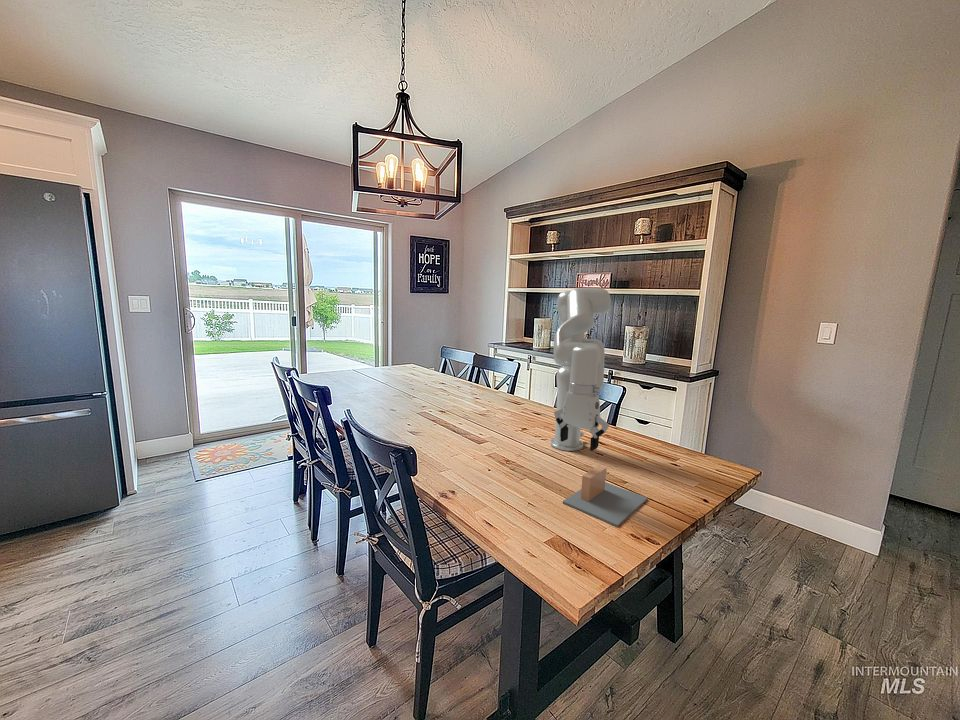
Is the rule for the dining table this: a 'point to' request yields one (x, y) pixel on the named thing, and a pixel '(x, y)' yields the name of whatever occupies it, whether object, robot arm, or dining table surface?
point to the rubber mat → (608, 504)
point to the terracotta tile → (593, 483)
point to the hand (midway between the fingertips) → (578, 444)
